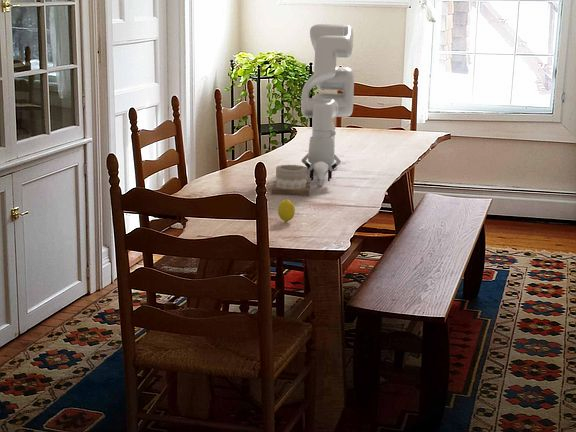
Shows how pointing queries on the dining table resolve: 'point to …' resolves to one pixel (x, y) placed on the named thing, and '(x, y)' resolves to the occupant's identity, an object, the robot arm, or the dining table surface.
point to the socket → (290, 181)
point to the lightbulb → (320, 172)
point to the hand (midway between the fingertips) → (320, 179)
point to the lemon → (286, 210)
